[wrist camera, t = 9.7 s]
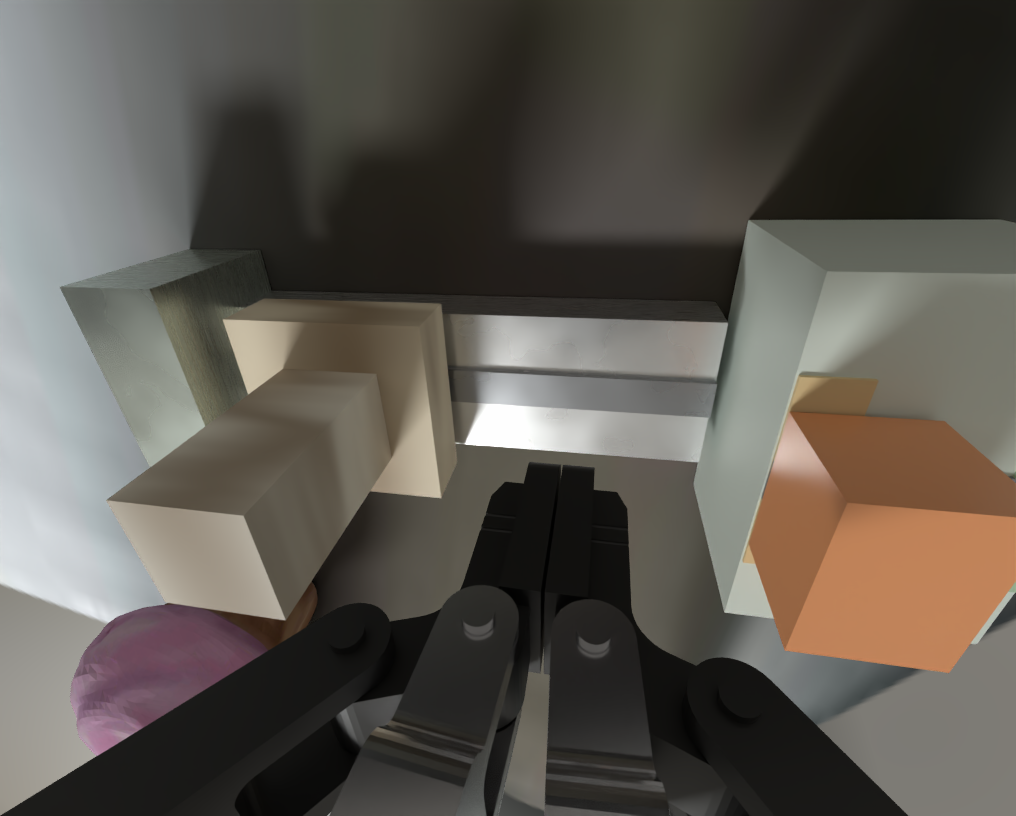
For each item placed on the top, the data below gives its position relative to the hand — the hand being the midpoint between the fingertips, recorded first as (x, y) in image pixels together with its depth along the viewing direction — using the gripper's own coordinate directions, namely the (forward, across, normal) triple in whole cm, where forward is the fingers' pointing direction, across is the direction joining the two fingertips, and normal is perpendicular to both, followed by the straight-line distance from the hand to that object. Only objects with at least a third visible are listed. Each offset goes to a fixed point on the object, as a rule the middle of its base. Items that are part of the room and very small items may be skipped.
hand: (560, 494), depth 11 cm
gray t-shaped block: (+7, +5, 0) cm, 9 cm away
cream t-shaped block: (+5, +7, 0) cm, 9 cm away
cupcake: (+8, +17, +14) cm, 23 cm away
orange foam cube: (+1, -6, 0) cm, 6 cm away
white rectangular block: (+8, -8, 0) cm, 11 cm away
